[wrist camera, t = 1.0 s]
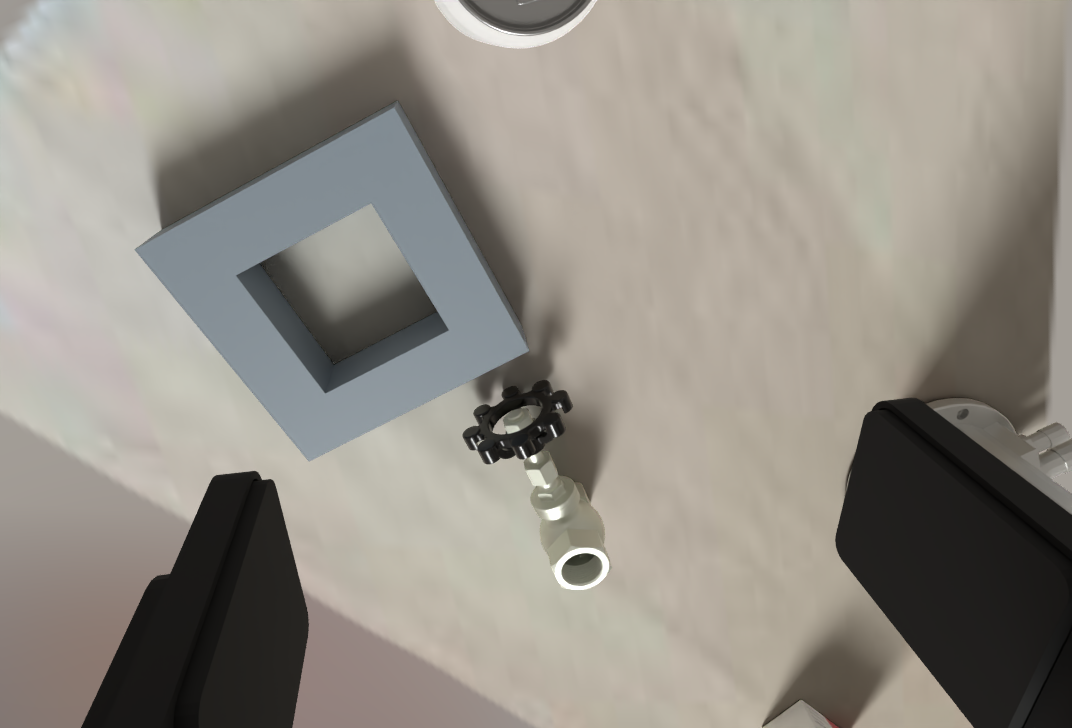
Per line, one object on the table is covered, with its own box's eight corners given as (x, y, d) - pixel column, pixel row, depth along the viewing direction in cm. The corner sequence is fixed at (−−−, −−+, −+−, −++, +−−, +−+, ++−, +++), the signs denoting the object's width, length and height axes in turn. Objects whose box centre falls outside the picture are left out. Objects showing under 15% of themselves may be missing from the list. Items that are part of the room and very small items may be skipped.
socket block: (397, 100, 33) (394, 107, 30) (521, 325, 40) (529, 350, 37) (161, 229, 35) (134, 249, 32) (318, 428, 41) (308, 461, 38)
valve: (617, 504, 47) (557, 366, 42) (643, 572, 41) (578, 421, 36) (530, 539, 47) (460, 406, 42) (544, 611, 42) (464, 468, 36)
